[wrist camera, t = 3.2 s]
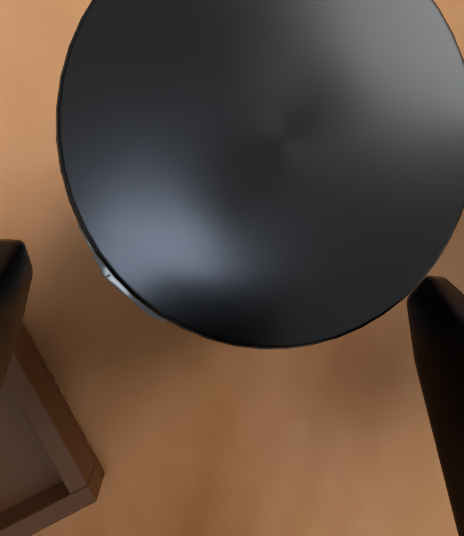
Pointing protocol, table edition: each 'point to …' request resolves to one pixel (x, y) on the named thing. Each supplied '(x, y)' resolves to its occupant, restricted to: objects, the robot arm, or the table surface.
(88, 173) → the metal tumbler
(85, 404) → the table surface
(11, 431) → the tray
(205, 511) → the table surface
